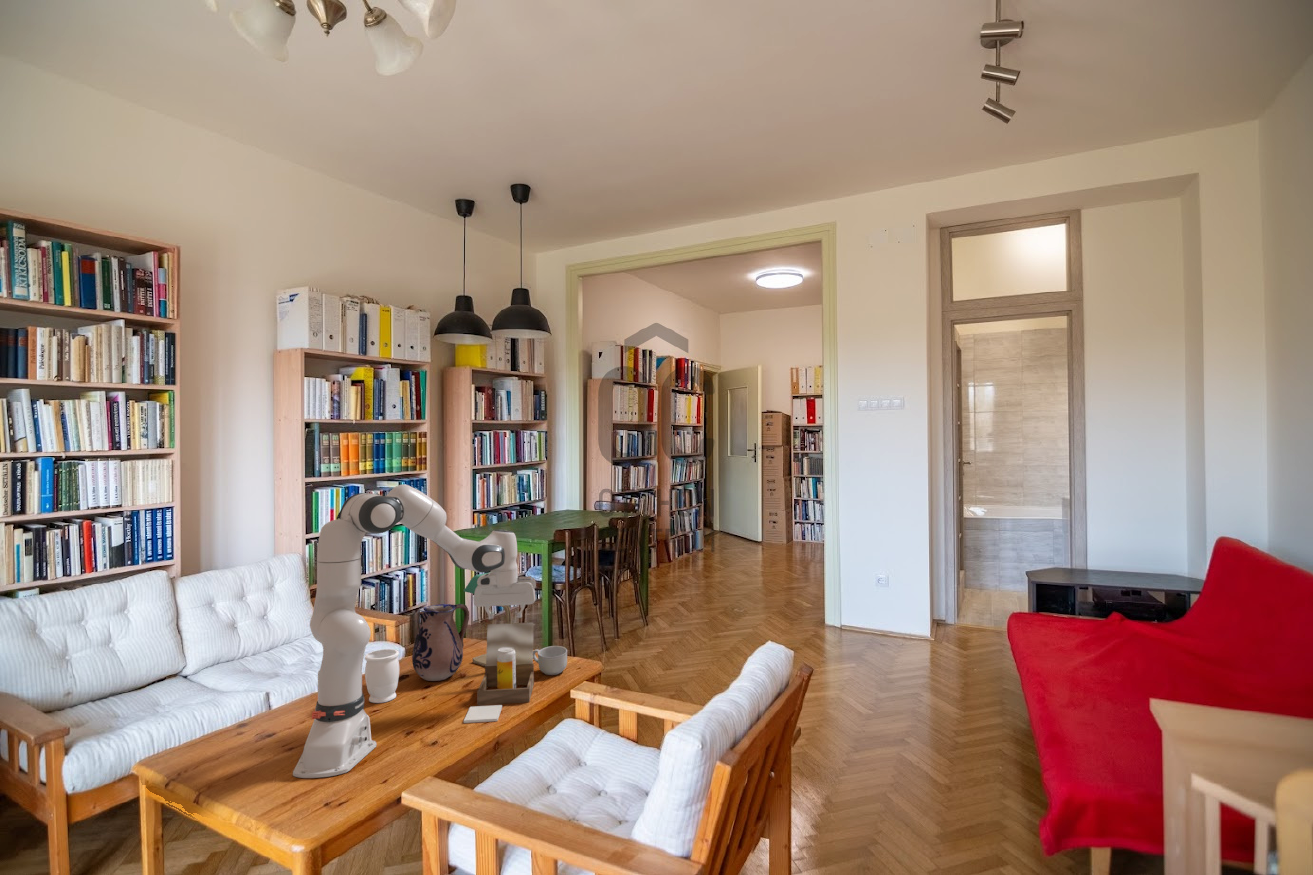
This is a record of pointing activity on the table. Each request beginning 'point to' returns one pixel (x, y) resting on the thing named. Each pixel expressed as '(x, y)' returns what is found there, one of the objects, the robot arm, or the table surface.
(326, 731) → the robot arm
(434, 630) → the ceramic pitcher
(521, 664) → the box
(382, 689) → the jar
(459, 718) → the table surface
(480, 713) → the stone tile
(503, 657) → the beer can
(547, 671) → the teacup
